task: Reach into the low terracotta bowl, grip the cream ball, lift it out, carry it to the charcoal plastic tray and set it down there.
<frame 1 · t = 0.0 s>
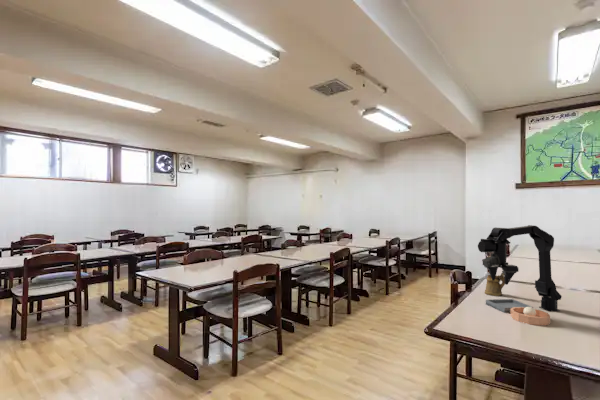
hand: (499, 282, 166), 15 cm above the table, fingers open, 9 cm apart
tray: (508, 307, 171), on the table
ball: (529, 312, 154), point 3 cm above the table, touching bowl
bowl: (529, 319, 154), on the table
wooden mug: (497, 295, 196), on the table
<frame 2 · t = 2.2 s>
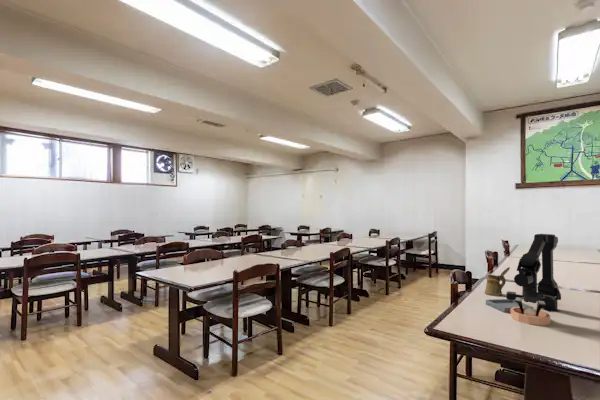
hand: (529, 316, 154), 2 cm above the table, fingers closed on ball, 5 cm apart
ball: (529, 312, 154), point 3 cm above the table, touching bowl, gripper
everything else where it was.
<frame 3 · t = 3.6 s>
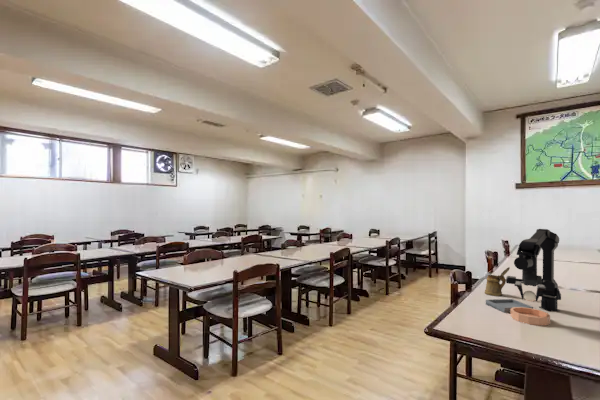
hand: (529, 300, 154), 9 cm above the table, fingers closed on ball, 5 cm apart
ball: (529, 296, 154), point 11 cm above the table, touching gripper
everything else where it was.
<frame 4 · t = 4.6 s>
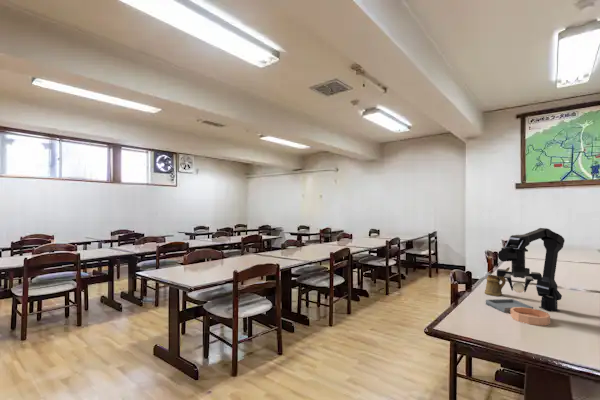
hand: (518, 291, 163), 11 cm above the table, fingers closed on ball, 5 cm apart
ball: (518, 287, 163), point 13 cm above the table, touching gripper
everything else where it was.
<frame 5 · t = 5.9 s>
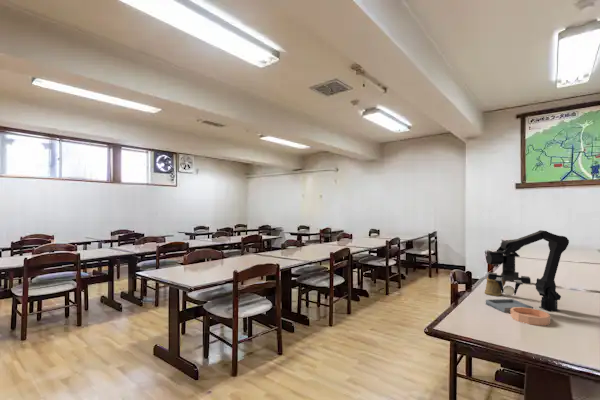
hand: (508, 294, 171), 7 cm above the table, fingers closed on ball, 5 cm apart
ball: (508, 290, 171), point 9 cm above the table, touching gripper
everything else where it was.
when the fingers open (3 cm above the table, at t = 7.0 s): ball drops 1 cm, resting on tray.
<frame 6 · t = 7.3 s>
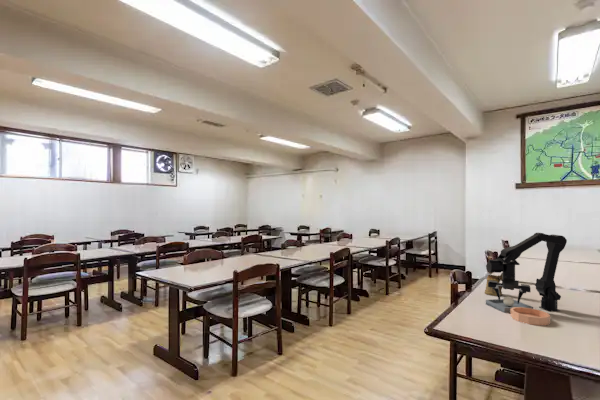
hand: (508, 302, 171), 3 cm above the table, fingers open, 8 cm apart
ball: (508, 301, 171), point 3 cm above the table, touching tray
everything else where it was.
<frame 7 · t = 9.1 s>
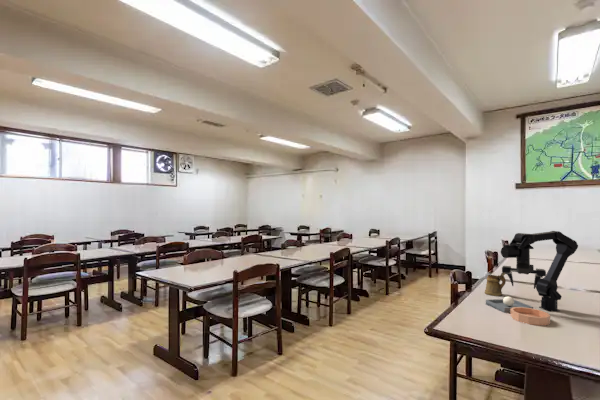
hand: (523, 287, 168), 12 cm above the table, fingers open, 9 cm apart
nothing on the table moved.
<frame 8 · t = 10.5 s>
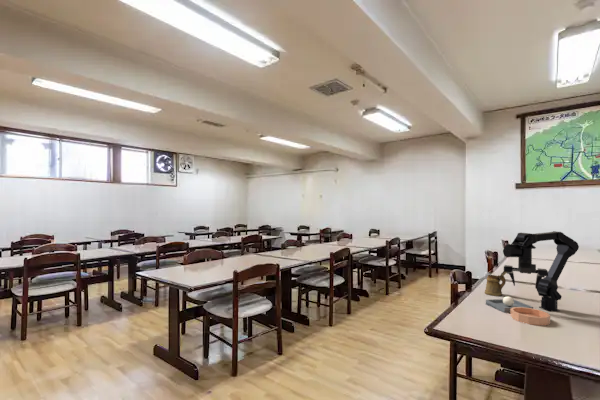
hand: (525, 287, 168), 12 cm above the table, fingers open, 9 cm apart
nothing on the table moved.
at the end: ball inside the target area on the tray (0.1 cm from its centre), point 3.5 cm above the tray's base; the gripper is holding nothing; ball moved 17.3 cm from its start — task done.
